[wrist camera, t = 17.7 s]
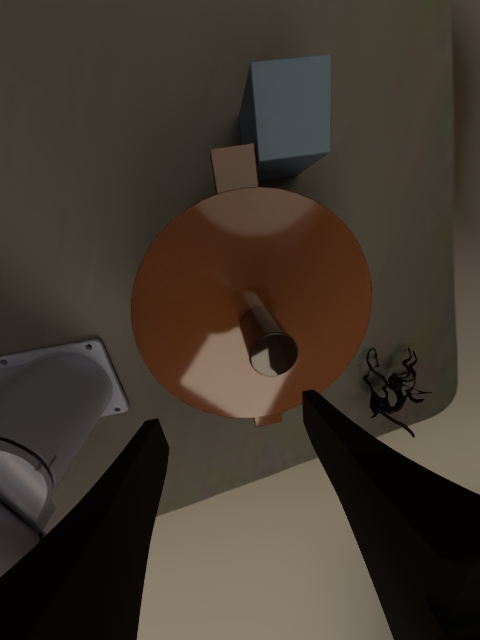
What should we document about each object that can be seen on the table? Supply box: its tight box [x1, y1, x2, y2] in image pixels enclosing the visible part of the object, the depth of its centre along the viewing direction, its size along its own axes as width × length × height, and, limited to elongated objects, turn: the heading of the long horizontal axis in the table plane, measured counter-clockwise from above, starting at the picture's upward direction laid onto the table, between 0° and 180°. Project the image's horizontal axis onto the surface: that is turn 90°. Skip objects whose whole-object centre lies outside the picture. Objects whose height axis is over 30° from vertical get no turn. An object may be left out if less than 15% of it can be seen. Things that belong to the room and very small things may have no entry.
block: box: [239, 54, 331, 181], centre depth 14 cm, size 4×4×5 cm
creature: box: [364, 347, 432, 437], centre depth 22 cm, size 8×5×8 cm
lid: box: [131, 187, 372, 418], centre depth 13 cm, size 15×15×5 cm
